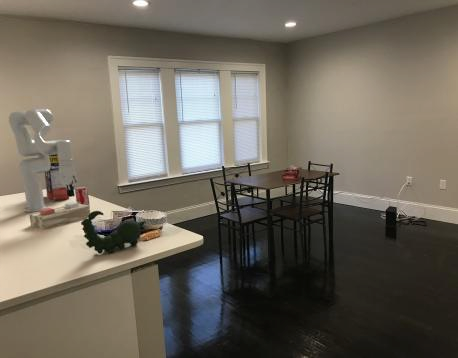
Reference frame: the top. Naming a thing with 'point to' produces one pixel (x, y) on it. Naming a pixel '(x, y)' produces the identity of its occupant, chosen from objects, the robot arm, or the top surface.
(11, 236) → the top surface
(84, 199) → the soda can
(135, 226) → the toy figurine
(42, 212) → the red plunger
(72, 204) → the grey plunger
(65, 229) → the top surface
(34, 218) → the console
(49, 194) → the cereal box
